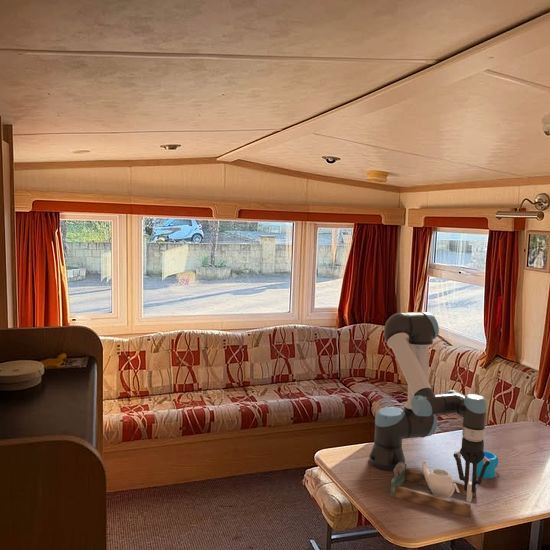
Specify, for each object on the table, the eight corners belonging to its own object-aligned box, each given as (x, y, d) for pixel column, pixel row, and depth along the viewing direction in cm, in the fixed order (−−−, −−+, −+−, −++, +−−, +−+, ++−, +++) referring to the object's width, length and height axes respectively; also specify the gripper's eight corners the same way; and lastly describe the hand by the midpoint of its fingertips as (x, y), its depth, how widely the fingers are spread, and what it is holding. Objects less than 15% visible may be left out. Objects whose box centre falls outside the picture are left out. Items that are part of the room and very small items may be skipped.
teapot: (448, 511, 193) (449, 487, 192) (411, 485, 211) (413, 463, 210) (468, 506, 197) (469, 482, 196) (430, 481, 215) (432, 459, 214)
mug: (485, 480, 217) (486, 461, 216) (469, 471, 224) (470, 453, 223) (505, 474, 223) (506, 455, 222) (488, 466, 230) (490, 447, 229)
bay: (388, 495, 203) (389, 472, 202) (400, 476, 218) (401, 455, 217) (469, 517, 190) (471, 493, 189) (476, 495, 205) (477, 473, 204)
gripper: (452, 437, 195) (448, 499, 197) (490, 445, 188) (486, 509, 191) (456, 430, 201) (452, 490, 203) (493, 438, 195) (489, 500, 197)
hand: (469, 499), depth 197 cm, fingers closed
